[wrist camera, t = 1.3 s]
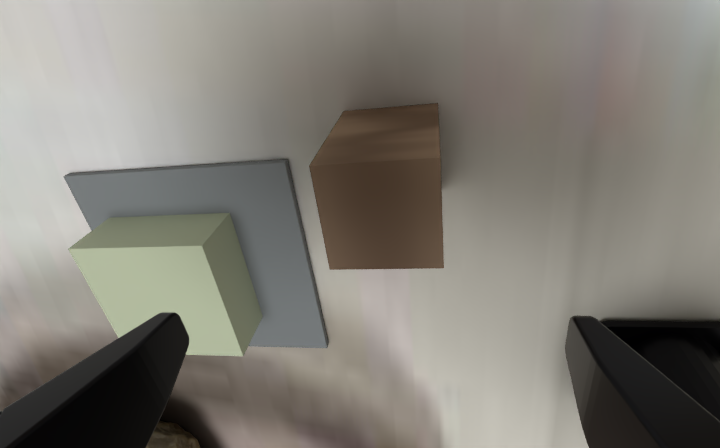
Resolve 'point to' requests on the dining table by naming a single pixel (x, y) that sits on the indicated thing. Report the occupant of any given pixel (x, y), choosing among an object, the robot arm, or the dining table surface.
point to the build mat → (251, 222)
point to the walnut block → (381, 189)
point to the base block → (173, 277)
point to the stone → (171, 437)
